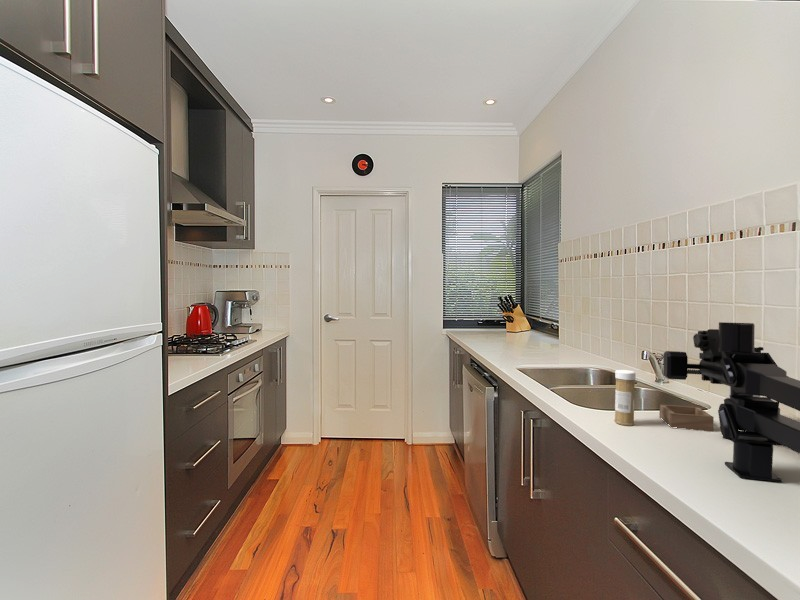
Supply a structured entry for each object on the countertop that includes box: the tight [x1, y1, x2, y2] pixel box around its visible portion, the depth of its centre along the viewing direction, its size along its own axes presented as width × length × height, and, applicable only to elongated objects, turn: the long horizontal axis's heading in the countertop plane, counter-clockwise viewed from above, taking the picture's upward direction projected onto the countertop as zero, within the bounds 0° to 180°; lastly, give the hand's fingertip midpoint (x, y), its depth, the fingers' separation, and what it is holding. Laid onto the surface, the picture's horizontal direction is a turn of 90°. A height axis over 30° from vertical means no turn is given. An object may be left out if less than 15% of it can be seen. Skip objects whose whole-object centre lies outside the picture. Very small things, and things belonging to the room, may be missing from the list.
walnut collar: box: [659, 404, 714, 432], centre depth 110 cm, size 9×9×4 cm
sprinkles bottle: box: [613, 369, 636, 427], centre depth 110 cm, size 5×5×13 cm
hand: (694, 362), depth 105 cm, fingers open, 9 cm apart
